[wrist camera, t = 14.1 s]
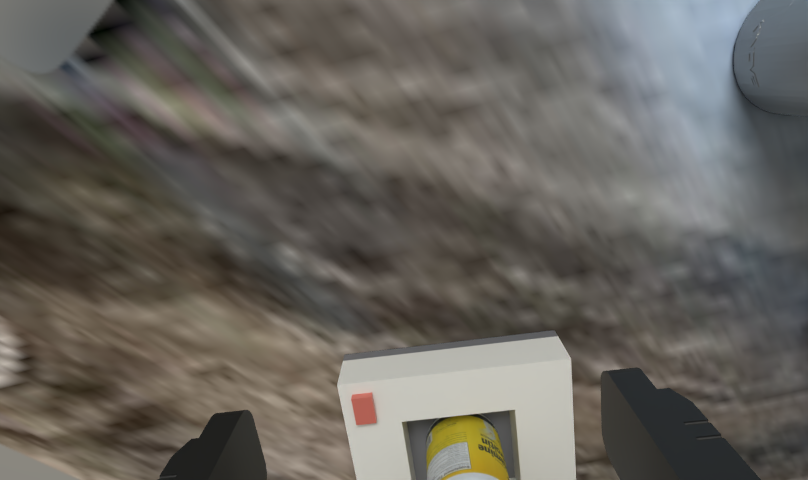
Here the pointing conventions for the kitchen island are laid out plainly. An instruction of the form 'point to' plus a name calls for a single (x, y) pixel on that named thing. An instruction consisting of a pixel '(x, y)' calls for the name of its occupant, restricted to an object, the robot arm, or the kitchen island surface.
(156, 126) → the kitchen island surface
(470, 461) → the pill bottle
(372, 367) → the socket block
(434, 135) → the kitchen island surface
